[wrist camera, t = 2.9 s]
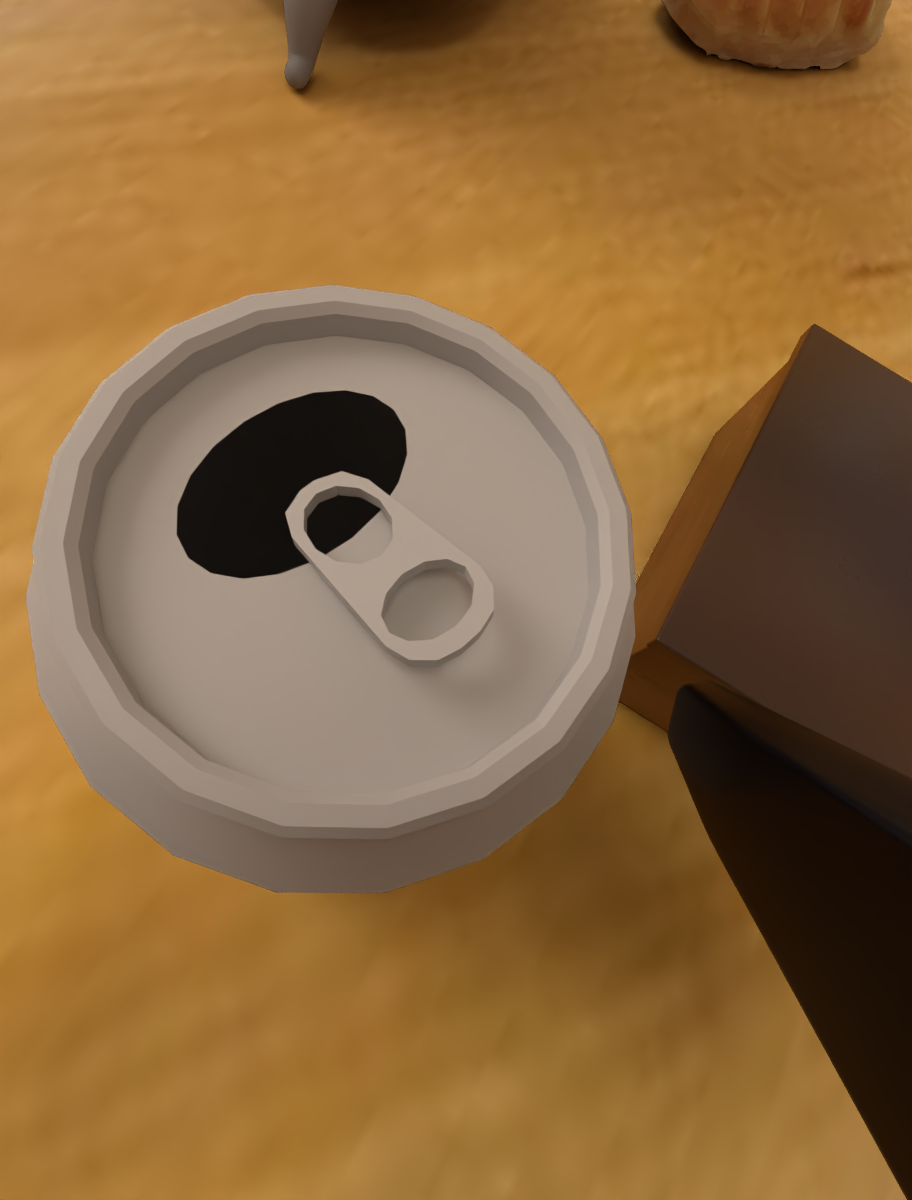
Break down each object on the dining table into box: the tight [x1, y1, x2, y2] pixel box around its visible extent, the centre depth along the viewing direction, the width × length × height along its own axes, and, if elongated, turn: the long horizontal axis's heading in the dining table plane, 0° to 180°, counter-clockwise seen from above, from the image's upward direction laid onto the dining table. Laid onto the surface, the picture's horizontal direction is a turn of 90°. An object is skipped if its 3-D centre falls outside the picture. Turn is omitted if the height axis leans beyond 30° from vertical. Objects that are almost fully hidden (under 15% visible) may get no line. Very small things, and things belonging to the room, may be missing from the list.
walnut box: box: [619, 324, 912, 778], centre depth 18 cm, size 11×8×5 cm
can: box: [26, 285, 636, 893], centre depth 13 cm, size 8×8×12 cm
